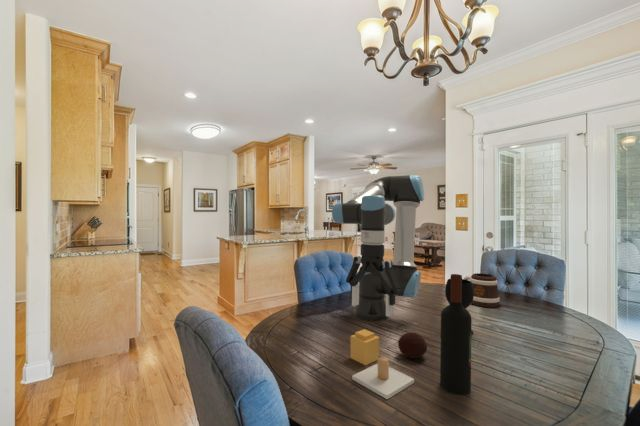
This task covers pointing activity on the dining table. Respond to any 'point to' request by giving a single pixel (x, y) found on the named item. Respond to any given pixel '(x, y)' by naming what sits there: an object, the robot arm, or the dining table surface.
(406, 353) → the potato
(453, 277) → the wine bottle
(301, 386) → the dining table surface
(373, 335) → the orange block
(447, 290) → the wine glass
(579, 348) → the dining table surface
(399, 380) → the post plate
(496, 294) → the mug
